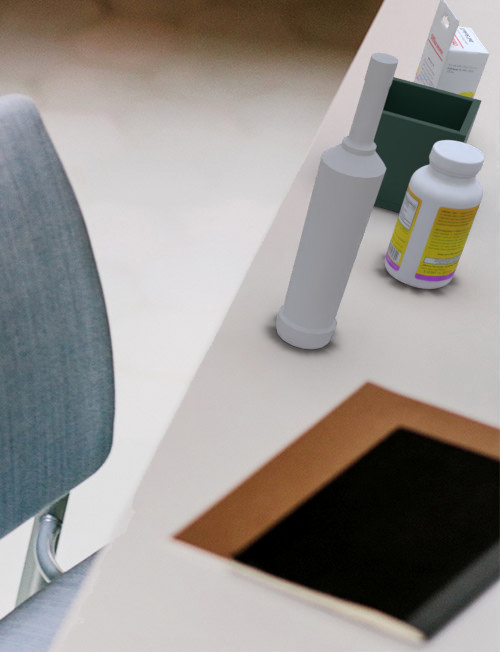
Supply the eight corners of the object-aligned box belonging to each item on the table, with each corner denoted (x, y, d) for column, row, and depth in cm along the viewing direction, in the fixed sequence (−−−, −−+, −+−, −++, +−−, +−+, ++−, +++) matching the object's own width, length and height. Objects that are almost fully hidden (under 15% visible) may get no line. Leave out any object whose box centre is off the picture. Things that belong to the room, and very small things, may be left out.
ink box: (457, 152, 139) (502, 27, 129) (415, 148, 138) (457, 21, 129) (440, 121, 145) (481, -1, 136) (400, 116, 145) (438, -6, 136)
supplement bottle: (462, 276, 116) (509, 155, 108) (430, 299, 112) (476, 175, 104) (402, 248, 119) (443, 128, 111) (369, 269, 115) (409, 147, 107)
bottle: (285, 351, 103) (367, 71, 87) (265, 318, 106) (339, 43, 90) (340, 350, 104) (431, 73, 88) (319, 316, 108) (401, 45, 92)
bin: (451, 184, 132) (481, 100, 126) (435, 223, 124) (466, 135, 118) (358, 157, 135) (383, 74, 128) (337, 194, 127) (362, 107, 121)
